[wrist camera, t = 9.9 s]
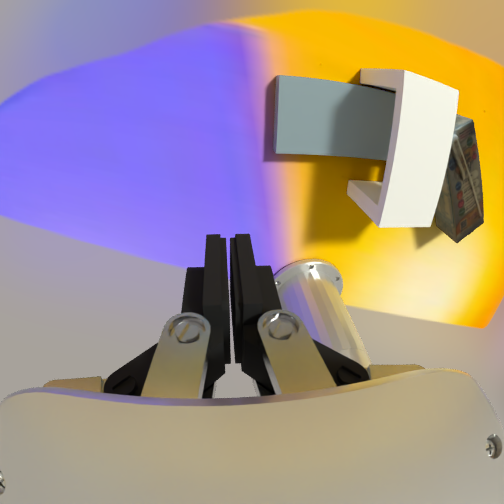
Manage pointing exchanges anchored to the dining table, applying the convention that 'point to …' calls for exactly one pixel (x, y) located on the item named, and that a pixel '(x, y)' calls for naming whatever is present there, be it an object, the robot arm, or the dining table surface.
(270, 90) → the dining table surface
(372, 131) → the panel
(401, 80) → the shelf
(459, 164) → the beverage carton
